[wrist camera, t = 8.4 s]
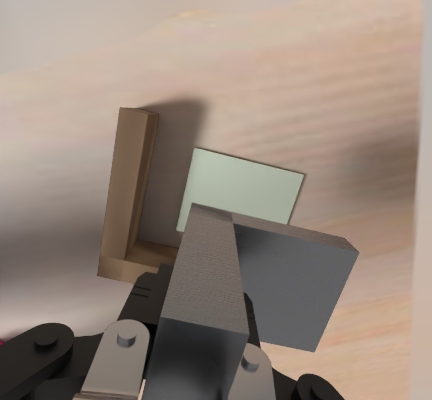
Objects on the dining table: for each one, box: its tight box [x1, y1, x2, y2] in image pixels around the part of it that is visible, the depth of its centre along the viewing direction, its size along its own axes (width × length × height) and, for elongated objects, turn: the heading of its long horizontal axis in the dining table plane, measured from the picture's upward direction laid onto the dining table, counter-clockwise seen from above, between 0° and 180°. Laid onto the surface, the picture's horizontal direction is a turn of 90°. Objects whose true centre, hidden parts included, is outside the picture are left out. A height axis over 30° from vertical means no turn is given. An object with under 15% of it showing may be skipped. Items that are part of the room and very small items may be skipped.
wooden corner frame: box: [97, 107, 179, 284], centre depth 24 cm, size 12×14×4 cm
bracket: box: [141, 202, 359, 400], centre depth 11 cm, size 8×6×8 cm
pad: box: [176, 147, 304, 232], centre depth 26 cm, size 10×8×1 cm
